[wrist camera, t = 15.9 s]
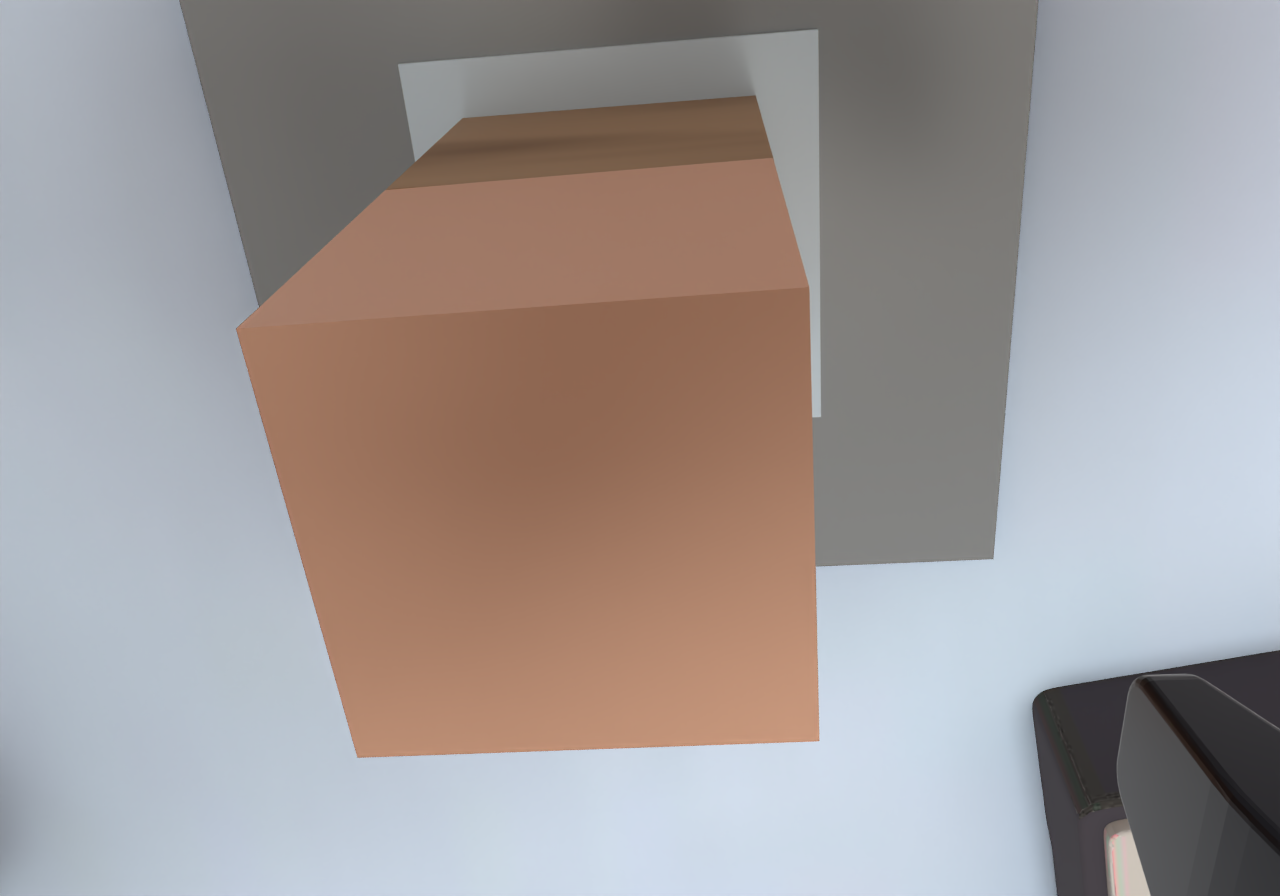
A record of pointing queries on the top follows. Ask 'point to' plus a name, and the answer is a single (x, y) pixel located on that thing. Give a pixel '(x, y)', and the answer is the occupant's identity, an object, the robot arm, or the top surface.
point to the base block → (592, 141)
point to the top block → (554, 461)
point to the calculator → (1115, 768)
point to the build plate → (804, 159)
